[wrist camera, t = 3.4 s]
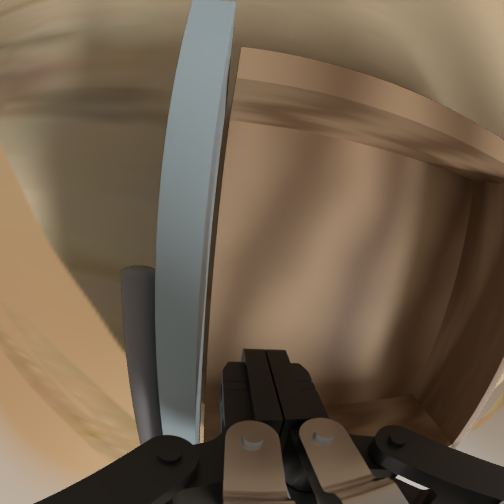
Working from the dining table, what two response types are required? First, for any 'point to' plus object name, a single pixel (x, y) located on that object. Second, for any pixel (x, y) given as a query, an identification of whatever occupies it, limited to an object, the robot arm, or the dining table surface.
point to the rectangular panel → (180, 237)
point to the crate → (359, 247)
